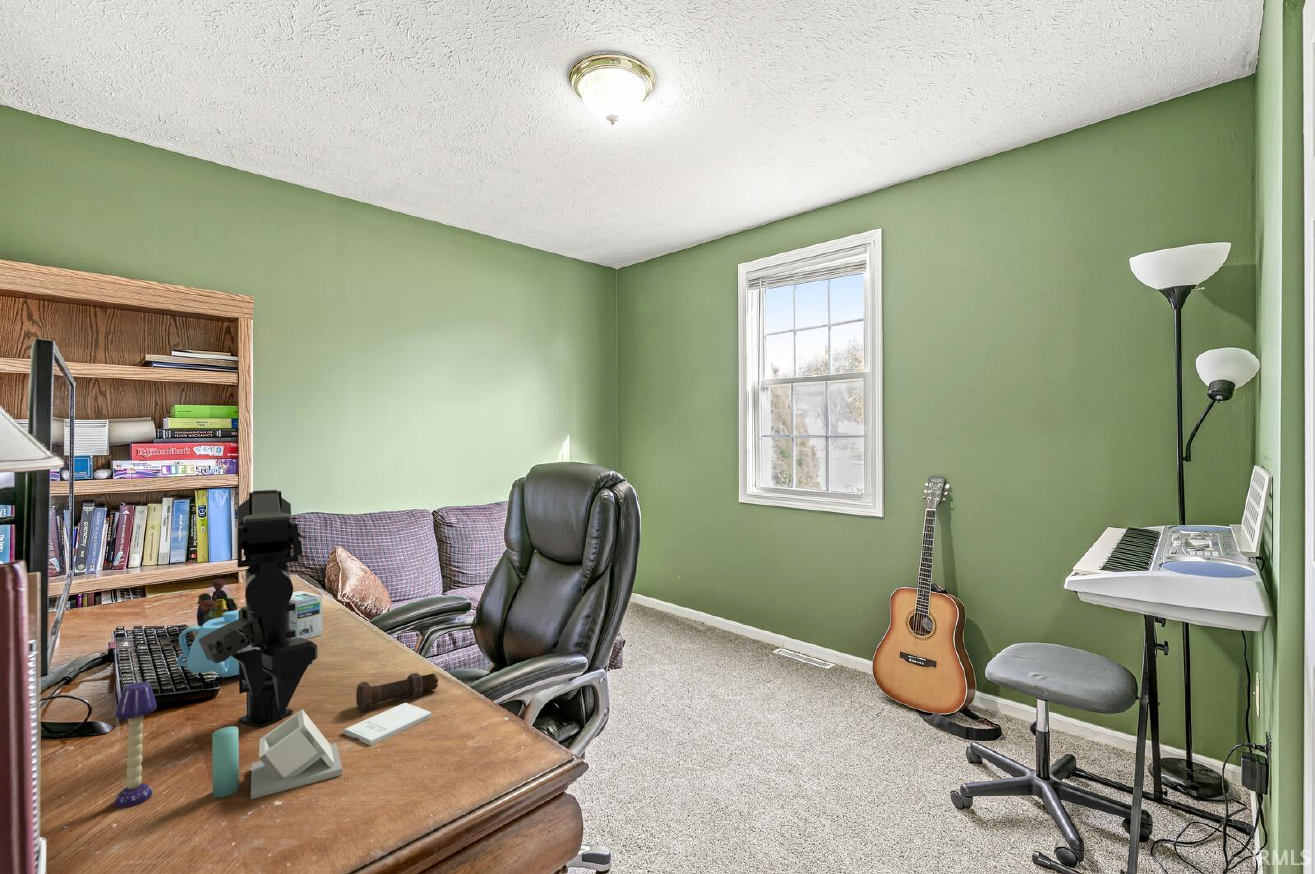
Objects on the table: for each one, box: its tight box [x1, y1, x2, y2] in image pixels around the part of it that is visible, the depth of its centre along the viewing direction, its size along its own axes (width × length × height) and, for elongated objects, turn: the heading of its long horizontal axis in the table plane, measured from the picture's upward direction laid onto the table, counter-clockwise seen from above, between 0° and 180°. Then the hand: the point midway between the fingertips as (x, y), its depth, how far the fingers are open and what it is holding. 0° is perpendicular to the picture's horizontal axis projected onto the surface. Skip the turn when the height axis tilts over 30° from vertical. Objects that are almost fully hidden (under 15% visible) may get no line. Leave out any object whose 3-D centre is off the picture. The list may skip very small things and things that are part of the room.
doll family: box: [193, 578, 241, 637], centre depth 167 cm, size 23×9×13 cm, turn 49°
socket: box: [250, 708, 343, 800], centre depth 98 cm, size 12×10×8 cm
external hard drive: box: [343, 702, 432, 747], centre depth 114 cm, size 2×8×12 cm
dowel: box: [211, 725, 240, 798], centre depth 93 cm, size 3×3×9 cm
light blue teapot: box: [176, 610, 239, 678], centre depth 140 cm, size 16×16×14 cm
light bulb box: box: [288, 590, 323, 640], centre depth 165 cm, size 11×7×11 cm, turn 58°
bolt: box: [355, 672, 439, 714], centre depth 125 cm, size 6×5×15 cm
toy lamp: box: [113, 681, 158, 808], centre depth 91 cm, size 5×5×17 cm
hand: (268, 701), depth 94 cm, fingers open, 9 cm apart
